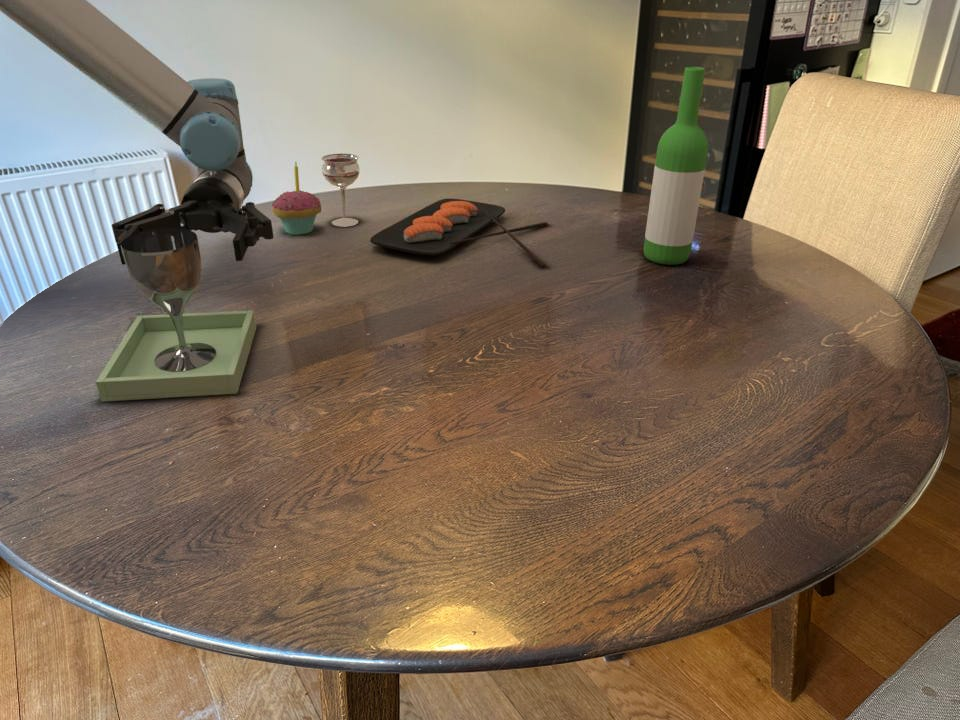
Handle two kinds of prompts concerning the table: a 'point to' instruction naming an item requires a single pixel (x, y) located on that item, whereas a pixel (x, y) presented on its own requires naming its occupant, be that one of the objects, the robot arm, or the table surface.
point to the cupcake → (297, 209)
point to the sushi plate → (445, 228)
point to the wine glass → (169, 286)
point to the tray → (152, 334)
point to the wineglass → (341, 178)
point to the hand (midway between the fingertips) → (180, 252)
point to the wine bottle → (678, 179)
